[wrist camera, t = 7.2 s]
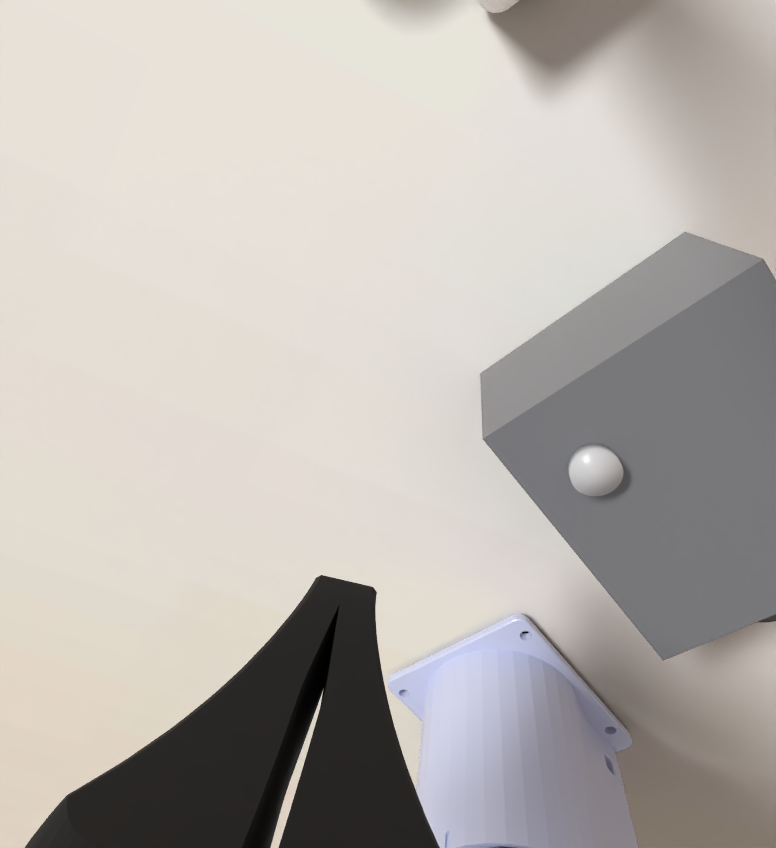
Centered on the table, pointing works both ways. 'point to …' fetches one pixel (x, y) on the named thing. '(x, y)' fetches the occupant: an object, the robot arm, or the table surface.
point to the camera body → (656, 438)
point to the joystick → (497, 5)
